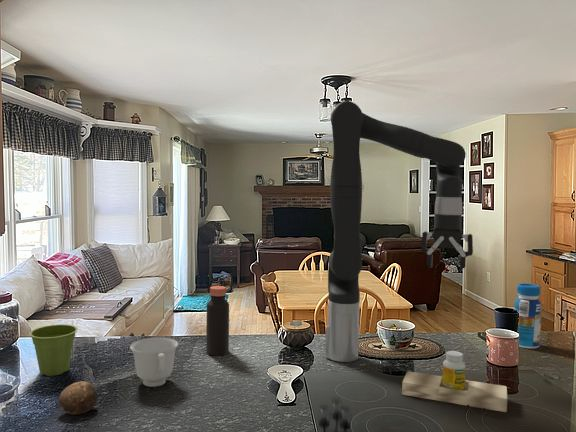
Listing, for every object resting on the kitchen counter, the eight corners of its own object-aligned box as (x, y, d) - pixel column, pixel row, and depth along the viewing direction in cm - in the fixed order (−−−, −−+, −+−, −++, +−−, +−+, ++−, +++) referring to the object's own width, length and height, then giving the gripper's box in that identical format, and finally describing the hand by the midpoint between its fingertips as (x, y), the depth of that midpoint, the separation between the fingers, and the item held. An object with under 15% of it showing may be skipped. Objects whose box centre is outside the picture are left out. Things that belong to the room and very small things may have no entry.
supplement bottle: (451, 385, 131) (452, 348, 130) (469, 392, 126) (470, 354, 126) (437, 389, 128) (438, 352, 127) (455, 397, 123) (456, 358, 122)
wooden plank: (401, 394, 127) (402, 381, 127) (407, 382, 135) (407, 371, 135) (506, 412, 119) (507, 398, 118) (505, 398, 126) (506, 386, 126)
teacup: (137, 399, 122) (137, 358, 121) (126, 378, 135) (126, 340, 134) (187, 391, 127) (187, 351, 126) (171, 370, 140) (171, 335, 140)
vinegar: (233, 351, 157) (233, 287, 156) (218, 357, 151) (219, 290, 150) (216, 347, 161) (216, 284, 159) (201, 353, 155) (202, 288, 154)
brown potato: (68, 386, 121) (72, 370, 117) (100, 398, 122) (105, 383, 118) (50, 415, 114) (54, 399, 111) (84, 427, 115) (89, 412, 111)
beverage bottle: (506, 341, 172) (509, 282, 171) (530, 340, 173) (533, 282, 172) (520, 349, 164) (524, 288, 163) (545, 349, 165) (548, 287, 164)
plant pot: (22, 371, 138) (22, 330, 137) (66, 360, 147) (66, 321, 146) (40, 383, 130) (39, 340, 129) (85, 371, 139) (85, 330, 138)
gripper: (421, 212, 147) (418, 268, 148) (473, 214, 141) (471, 272, 142) (424, 211, 154) (422, 264, 155) (475, 213, 148) (472, 268, 149)
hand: (445, 268), depth 149 cm, fingers open, 8 cm apart
